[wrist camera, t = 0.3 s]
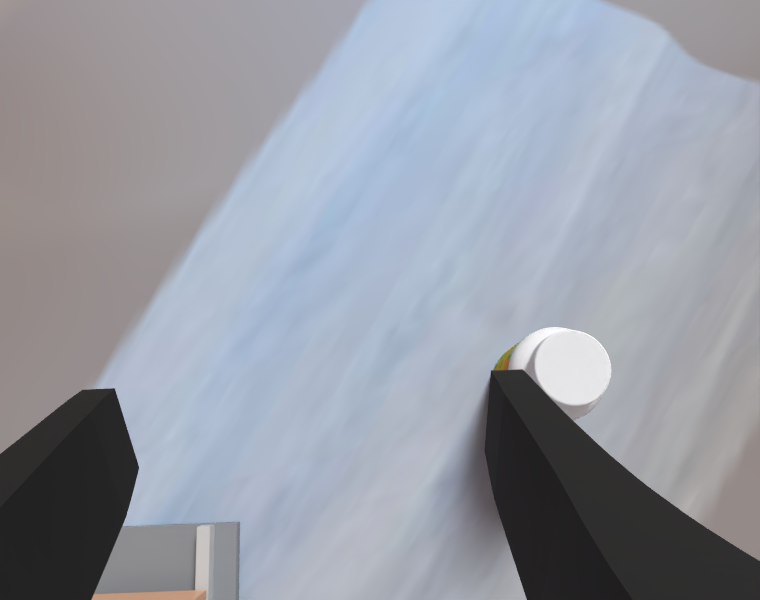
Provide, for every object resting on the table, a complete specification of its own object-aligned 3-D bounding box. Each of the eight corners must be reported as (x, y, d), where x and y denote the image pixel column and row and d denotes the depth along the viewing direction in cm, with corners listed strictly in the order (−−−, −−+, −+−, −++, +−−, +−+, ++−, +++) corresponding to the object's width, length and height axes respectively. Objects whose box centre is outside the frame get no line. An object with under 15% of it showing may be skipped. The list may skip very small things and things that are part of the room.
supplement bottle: (507, 332, 41) (542, 300, 32) (581, 364, 40) (639, 340, 31) (477, 405, 40) (505, 393, 30) (554, 439, 39) (605, 437, 30)
